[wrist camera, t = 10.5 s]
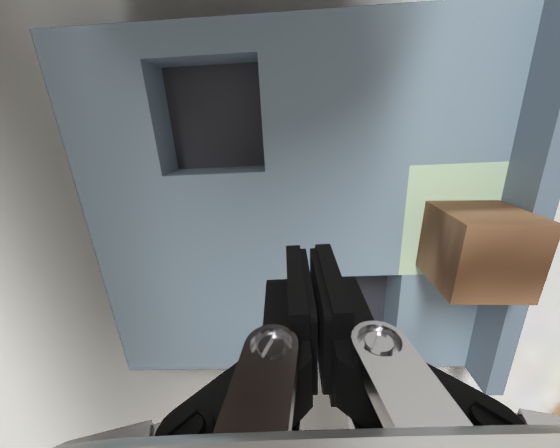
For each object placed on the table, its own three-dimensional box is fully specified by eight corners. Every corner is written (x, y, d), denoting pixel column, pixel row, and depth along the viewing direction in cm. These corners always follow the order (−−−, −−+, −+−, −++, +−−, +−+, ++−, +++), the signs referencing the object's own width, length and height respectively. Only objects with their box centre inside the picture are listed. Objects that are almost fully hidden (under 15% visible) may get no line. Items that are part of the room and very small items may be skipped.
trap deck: (69, 43, 18) (-18, 12, 13) (524, 12, 17) (627, -35, 12) (146, 343, 26) (111, 397, 21) (459, 338, 25) (503, 395, 20)
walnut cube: (425, 200, 18) (467, 225, 14) (499, 200, 18) (564, 224, 14) (415, 264, 20) (449, 304, 15) (483, 264, 19) (537, 304, 15)
